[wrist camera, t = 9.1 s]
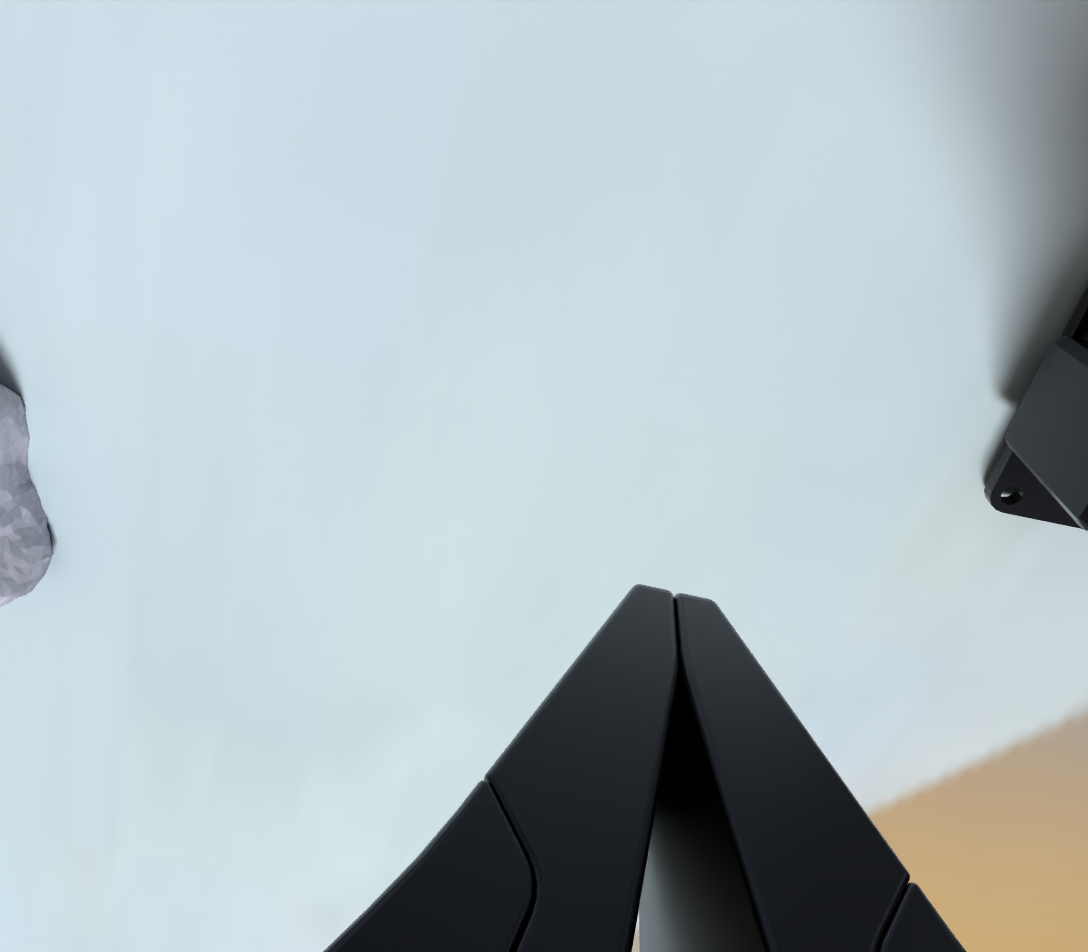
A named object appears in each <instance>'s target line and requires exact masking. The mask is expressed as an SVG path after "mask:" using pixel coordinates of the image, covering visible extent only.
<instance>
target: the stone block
mask: <svg viewBox="0 0 1088 952" xmlns="http://www.w3.org/2000/svg"><path fill="white" fill-rule="evenodd" d="M25 411H26V410H25V407H24V405H23V403H22V400H21V398H20V396H18V395H17V394H16V393H14V392H13V391H12V390H10V389H8V388H7V387H5V386H4V385H2V384H1V383H0V607H1V606H3V605H5V604H7V603H9V602H11V601H12V600H14V599H16V598H18V597H21V596H24V595H26V594H28V593H29V592H31V591H32V590H33V589H34V588H35V586H36V585H37V584H38V582H39V581H40V580H41V579H42V577H43V576H44V575H45V574H46V571H47V569H48V566H49V563H50V561H51V558H52V555H53V550H52V547H51V542H50V534H49V531H48V529H47V523H48V518H47V516H46V514H45V512H44V510H43V508H42V505H41V501H40V498H39V496H38V493H37V490H36V488H35V486H34V485H33V483H32V482H31V480H30V475H29V470H28V447H29V440H30V437H29V432H28V426H27V422H26V413H25Z"/></svg>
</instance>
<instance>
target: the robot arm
mask: <svg viewBox="0 0 1088 952" xmlns="http://www.w3.org/2000/svg"><path fill="white" fill-rule="evenodd" d="M1004 438H1005V440H1006V442H1007V444H1006V446H1005V448H1004V450H1003V452H1002V454H1001V456H1000V458H999V460H998V462H997V463H996V465H995V467H994V469H993V471H992V473H991V475H990V477H989V479H988V481H987V483H986V485H985V489H984V493H985V497H986V498H987V500H988V501H989V502H990V504H991V505H992V506H993V507H994V508H995V509H996V510H998V511H1000V512H1003V513H1007V514H1012V515H1017V516H1022V517H1027V518H1032V519H1037V520H1042V521H1047V522H1052V523H1057V524H1062V525H1066V526H1071V527H1076V528H1081V529H1084V530H1087V531H1088V286H1087V288H1086V290H1085V292H1084V294H1083V296H1082V298H1081V300H1080V302H1079V304H1078V306H1077V308H1076V310H1075V312H1074V314H1073V316H1072V318H1071V319H1070V321H1069V323H1068V325H1067V327H1066V329H1065V331H1064V333H1063V335H1062V337H1061V338H1059V339H1058V340H1056V341H1055V342H1053V343H1052V344H1051V345H1050V346H1049V348H1048V350H1047V352H1046V354H1045V356H1044V358H1043V360H1042V362H1041V364H1040V366H1039V368H1038V370H1037V372H1036V373H1035V375H1034V377H1033V379H1032V381H1031V383H1030V385H1029V387H1028V389H1027V391H1026V393H1025V395H1024V397H1023V399H1022V401H1021V403H1020V405H1019V407H1018V409H1017V411H1016V413H1015V415H1014V417H1013V419H1012V421H1011V423H1010V425H1009V427H1008V429H1007V430H1006V432H1005V435H1004ZM1010 487H1017V488H1016V491H1015V492H1014V493H1013V494H1012V495H1010V496H1007V497H1001V494H1002V492H1003V491H1004V490H1005V489H1008V488H1010ZM909 879H910V875H909V873H908V871H907V870H906V868H905V867H904V866H903V864H902V863H901V861H900V860H899V859H898V857H897V856H896V854H895V853H894V852H893V850H892V849H891V848H890V846H889V845H888V843H887V842H886V840H885V839H884V838H883V836H882V835H881V833H880V832H879V831H878V829H877V828H876V826H875V825H874V824H873V822H872V821H871V819H870V818H869V817H868V815H867V814H866V812H865V811H864V810H863V808H862V807H861V805H860V804H859V803H858V801H857V800H856V798H855V797H854V796H853V794H852V793H851V791H850V790H849V789H848V787H847V786H846V784H845V783H844V782H843V780H842V779H841V777H840V776H839V775H838V773H837V772H836V770H835V769H834V768H833V766H832V765H831V763H830V762H829V761H828V759H827V758H826V756H825V755H824V754H823V752H822V751H821V749H820V748H819V747H818V745H817V744H816V742H815V741H814V740H813V738H812V737H811V735H810V734H809V733H808V731H807V730H806V728H805V727H804V726H803V724H802V723H801V721H800V720H799V719H798V717H797V716H796V714H795V713H794V712H793V710H792V709H791V707H790V706H789V705H788V703H787V702H786V700H785V699H784V698H783V696H782V695H781V693H780V692H779V691H778V689H777V688H776V686H775V685H774V684H773V682H772V681H771V680H770V678H769V677H768V675H767V674H766V673H765V671H764V670H763V668H762V667H761V666H760V664H759V663H758V661H757V660H756V659H755V657H754V656H753V654H752V653H751V652H750V650H749V649H748V647H747V646H746V645H745V643H744V642H743V640H742V639H741V638H740V636H739V635H738V633H737V632H736V631H735V629H734V628H733V626H732V625H731V624H730V622H729V621H728V619H727V618H726V617H725V615H724V614H723V612H722V611H721V610H720V608H719V607H718V605H717V604H716V603H715V602H714V601H712V600H710V599H706V598H702V597H697V596H692V595H688V594H683V593H678V594H676V595H675V596H674V597H673V594H672V593H671V592H670V591H668V590H664V589H660V588H655V587H651V586H646V585H641V584H637V585H635V586H634V587H633V588H632V589H631V590H630V591H629V592H628V594H627V595H626V596H625V598H624V599H623V600H622V601H621V603H620V604H619V605H618V606H617V608H616V609H615V610H614V612H613V613H612V614H611V615H610V617H609V618H608V619H607V621H606V622H605V623H604V624H603V626H602V627H601V628H600V629H599V631H598V632H597V633H596V635H595V636H594V637H593V638H592V640H591V641H590V642H589V643H588V645H587V646H586V647H585V649H584V650H583V651H582V652H581V654H580V655H579V656H578V657H577V659H576V660H575V661H574V663H573V664H572V665H571V666H570V668H569V669H568V670H567V672H566V673H565V674H564V675H563V677H562V678H561V679H560V680H559V682H558V683H557V684H556V686H555V687H554V688H553V689H552V691H551V692H550V693H549V694H548V696H547V697H546V698H545V700H544V701H543V702H542V703H541V705H540V706H539V707H538V708H537V710H536V711H535V712H534V714H533V715H532V716H531V717H530V719H529V720H528V721H527V722H526V724H525V725H524V726H523V728H522V729H521V730H520V731H519V733H518V734H517V735H516V737H515V738H514V739H513V740H512V742H511V743H510V744H509V745H508V747H507V748H506V749H505V751H504V752H503V753H502V754H501V756H500V757H499V758H498V759H497V761H496V762H495V763H494V765H493V766H492V767H491V768H490V770H489V771H488V772H487V773H486V775H485V777H484V781H480V782H479V783H478V784H477V785H476V787H475V788H474V789H473V791H472V792H471V793H470V794H469V796H468V797H467V798H466V799H465V801H464V802H463V803H462V805H461V806H460V807H459V808H458V810H457V811H456V812H455V813H454V814H453V816H452V817H451V818H450V819H449V820H448V822H447V823H446V824H445V825H444V826H443V827H442V829H441V830H440V831H439V832H438V833H437V835H436V836H435V837H434V838H433V839H432V840H431V842H430V843H429V844H428V845H427V846H426V847H425V849H424V850H423V851H422V852H421V853H420V855H419V856H418V857H417V858H416V859H415V860H414V861H413V862H412V863H411V864H410V865H409V866H408V867H407V868H406V869H405V870H404V871H403V872H402V874H401V875H400V876H399V877H398V878H397V879H396V880H395V881H394V882H393V883H392V884H391V885H390V886H389V887H388V888H387V889H386V890H385V891H384V892H383V893H382V894H381V895H380V896H379V897H378V898H377V899H376V900H375V901H374V902H373V904H372V905H371V906H370V907H369V908H368V909H367V910H366V911H365V912H364V913H363V914H362V915H360V916H359V917H358V918H357V919H356V920H355V921H354V922H353V923H352V924H351V925H350V926H349V927H348V928H347V929H346V930H345V931H344V932H343V933H342V934H341V935H340V936H339V937H338V938H337V939H336V940H335V941H334V942H333V943H332V944H331V945H330V946H329V947H328V948H326V949H325V950H324V951H323V952H631V951H632V946H633V940H634V934H635V928H636V922H637V916H638V911H639V939H640V952H966V951H965V949H964V948H963V947H962V945H961V944H960V943H959V941H958V940H957V939H956V937H955V936H954V935H953V933H952V932H951V931H950V929H949V928H948V927H947V925H946V924H945V922H944V921H943V920H942V918H941V917H940V916H939V914H938V913H937V911H936V910H935V909H934V907H933V906H932V904H931V903H930V901H929V900H928V899H927V897H926V896H925V894H924V893H923V892H922V890H921V889H920V887H919V886H918V885H917V884H915V883H909V884H908V882H909ZM907 884H908V885H907Z"/></svg>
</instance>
